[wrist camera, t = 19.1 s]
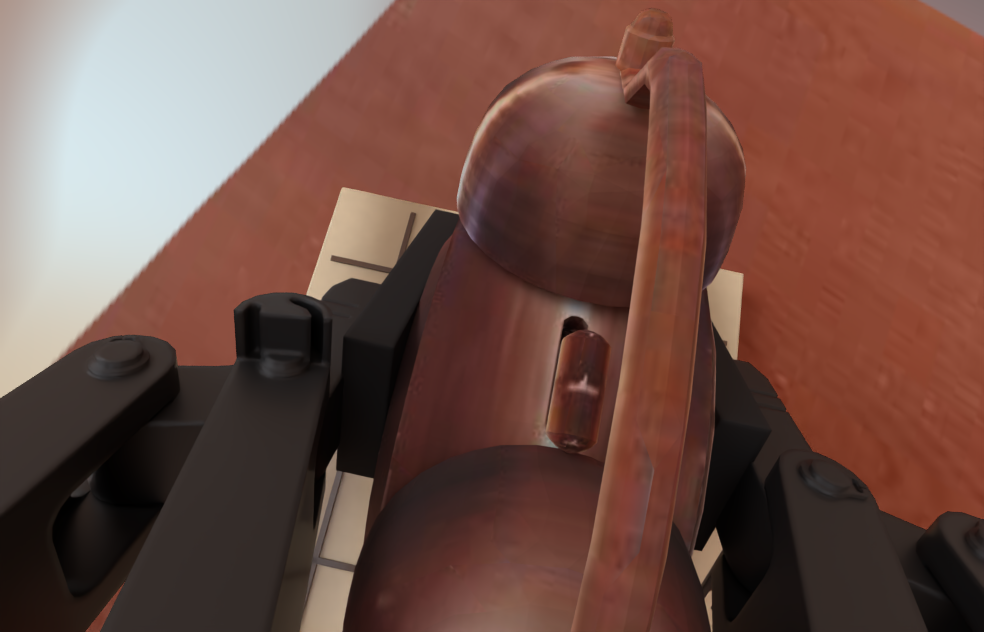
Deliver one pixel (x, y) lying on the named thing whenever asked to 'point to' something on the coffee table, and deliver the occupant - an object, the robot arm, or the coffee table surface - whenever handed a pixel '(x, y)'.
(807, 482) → the robot arm
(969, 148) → the coffee table surface
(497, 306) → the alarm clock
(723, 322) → the game board
